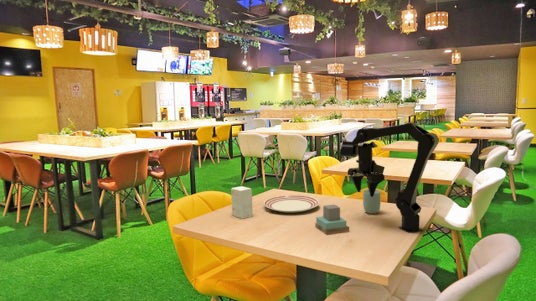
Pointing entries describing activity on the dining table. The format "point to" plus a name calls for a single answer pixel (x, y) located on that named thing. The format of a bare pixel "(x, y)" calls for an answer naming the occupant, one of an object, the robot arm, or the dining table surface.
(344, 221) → the tower top
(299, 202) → the dinner plate
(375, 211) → the cup
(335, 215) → the grey cube
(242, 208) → the small box
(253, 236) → the dining table surface
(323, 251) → the dining table surface
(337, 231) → the tower bottom
